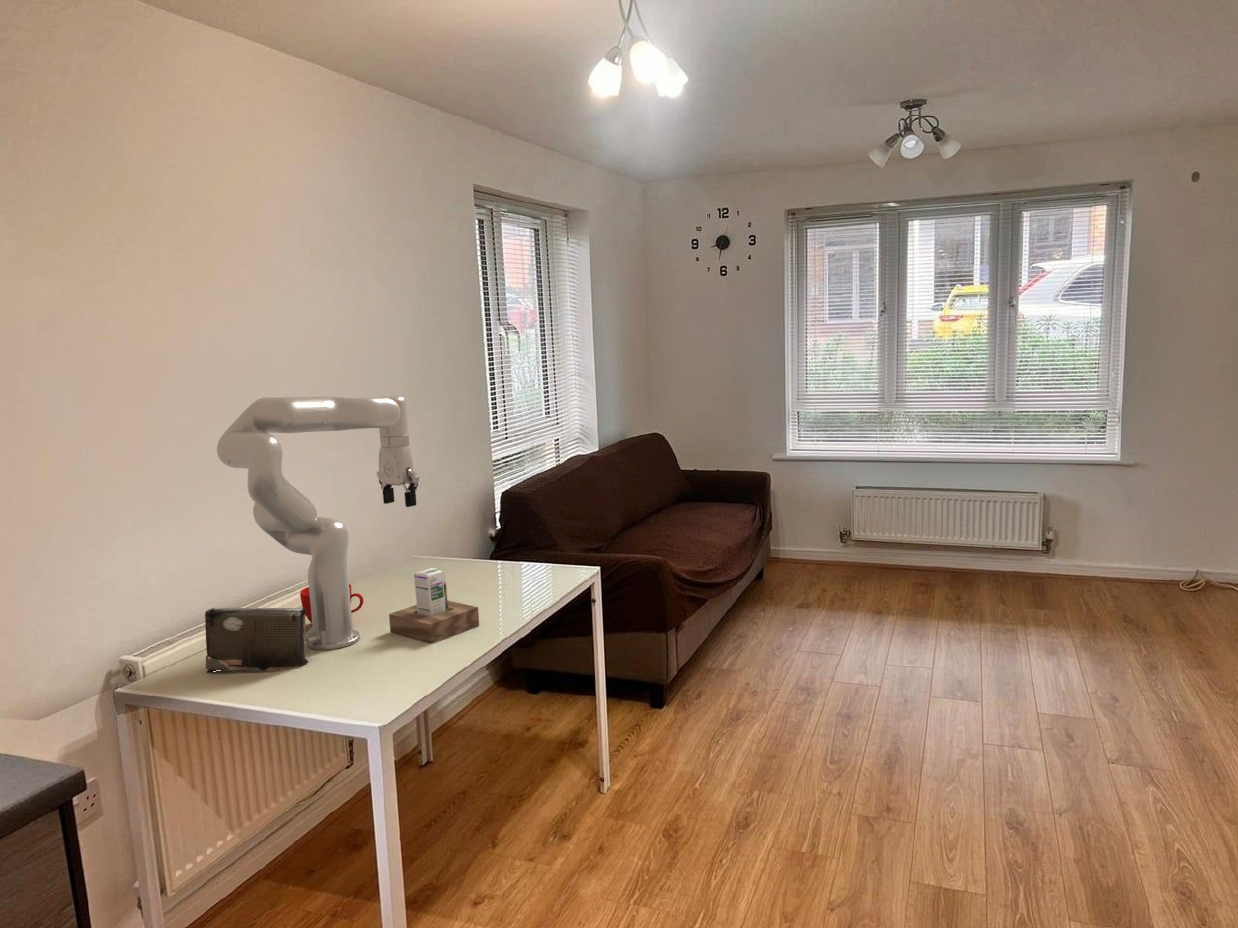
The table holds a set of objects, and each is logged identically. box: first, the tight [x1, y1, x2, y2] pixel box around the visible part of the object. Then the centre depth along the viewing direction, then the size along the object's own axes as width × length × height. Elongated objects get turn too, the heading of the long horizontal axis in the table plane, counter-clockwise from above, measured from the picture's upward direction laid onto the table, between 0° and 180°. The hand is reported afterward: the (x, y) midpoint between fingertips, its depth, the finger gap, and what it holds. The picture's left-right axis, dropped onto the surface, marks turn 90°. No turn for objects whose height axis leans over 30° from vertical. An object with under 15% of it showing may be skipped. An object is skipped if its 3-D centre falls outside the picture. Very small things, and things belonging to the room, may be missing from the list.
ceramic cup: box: [299, 583, 364, 624], centre depth 232 cm, size 13×17×10 cm
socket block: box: [388, 599, 480, 645], centre depth 226 cm, size 16×16×5 cm
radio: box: [204, 607, 313, 674], centre depth 203 cm, size 23×9×15 cm, turn 87°
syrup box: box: [413, 567, 448, 617], centre depth 225 cm, size 6×6×14 cm
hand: (400, 504), depth 237 cm, fingers open, 9 cm apart
